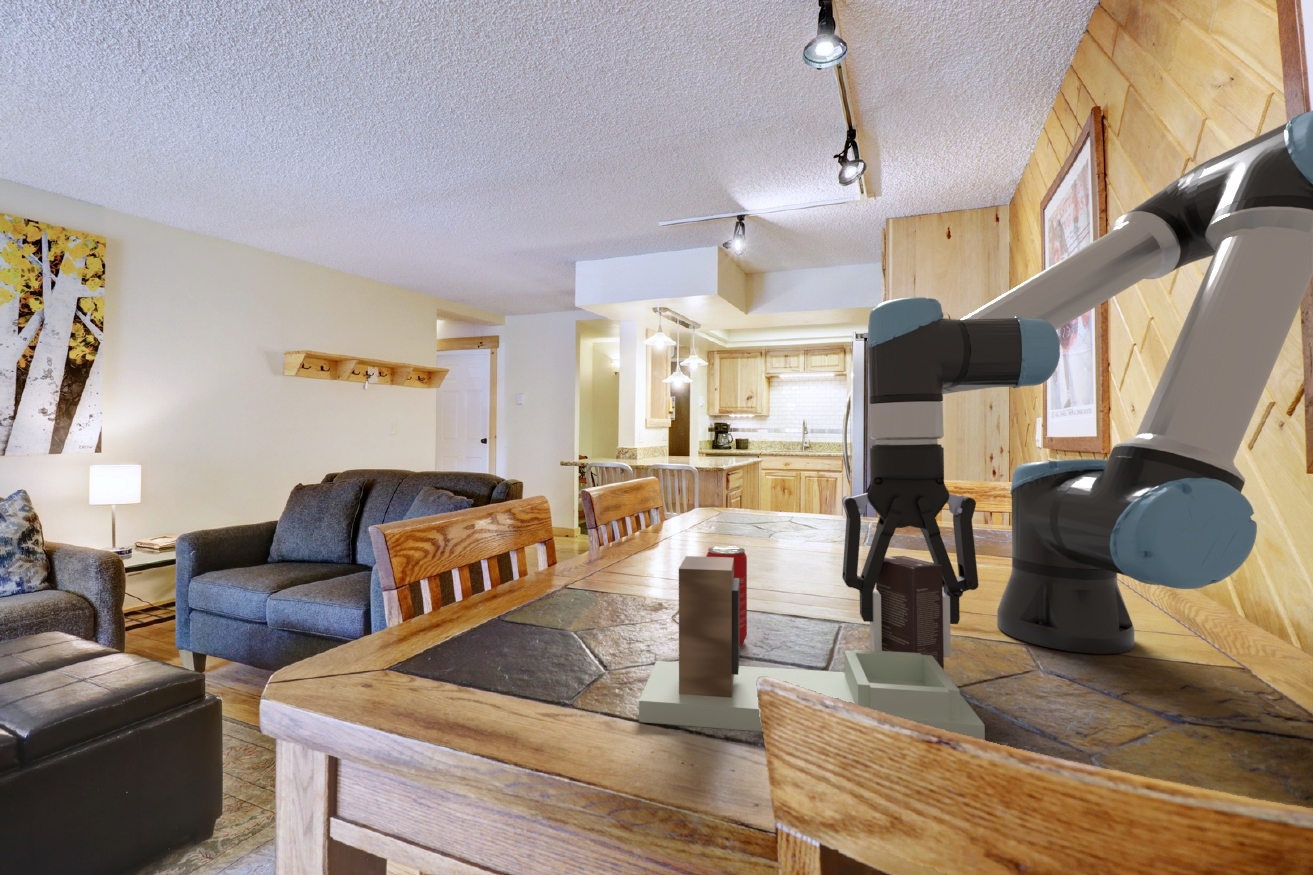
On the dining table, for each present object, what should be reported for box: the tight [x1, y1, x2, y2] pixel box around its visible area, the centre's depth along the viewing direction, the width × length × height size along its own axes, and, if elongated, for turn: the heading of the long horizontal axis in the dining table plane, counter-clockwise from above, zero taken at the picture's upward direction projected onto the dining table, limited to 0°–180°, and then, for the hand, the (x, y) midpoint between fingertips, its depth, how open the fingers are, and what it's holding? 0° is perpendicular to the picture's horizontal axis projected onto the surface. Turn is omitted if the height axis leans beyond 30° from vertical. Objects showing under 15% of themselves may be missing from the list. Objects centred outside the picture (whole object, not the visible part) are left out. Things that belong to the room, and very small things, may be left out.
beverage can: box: [705, 545, 748, 647], centre depth 78 cm, size 5×5×12 cm
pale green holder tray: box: [638, 649, 986, 741], centre depth 59 cm, size 30×10×4 cm, turn 81°
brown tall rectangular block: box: [678, 555, 741, 698], centre depth 60 cm, size 6×6×12 cm
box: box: [875, 555, 945, 671], centre depth 67 cm, size 6×4×12 cm
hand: (909, 650), depth 67 cm, fingers closed on box, 6 cm apart
